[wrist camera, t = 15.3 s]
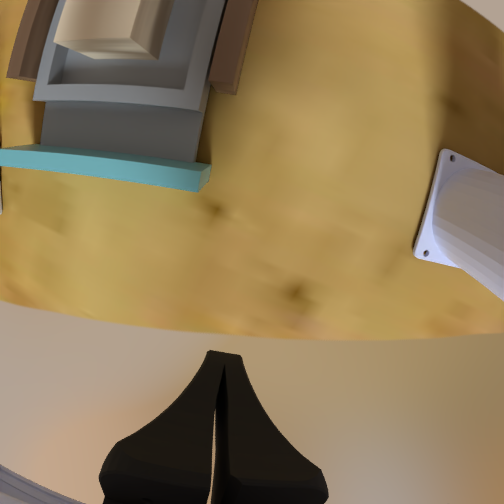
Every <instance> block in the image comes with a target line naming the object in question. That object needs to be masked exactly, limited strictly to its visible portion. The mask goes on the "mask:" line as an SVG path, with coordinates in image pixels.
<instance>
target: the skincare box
mask: <svg viewBox="0 0 504 504" xmlns="http://www.w3.org/2000/svg"><path fill="white" fill-rule="evenodd" d="M1 213H2V201H1V183H0V214H1Z"/></svg>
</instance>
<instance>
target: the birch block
mask: <svg viewBox="0 0 504 504" xmlns="http://www.w3.org/2000/svg"><path fill="white" fill-rule="evenodd" d="M174 1H175V0H66V2H65V5H64V8H63V11H62V14H61V17H60V21H59V24H58V27H57V30H56V34H55V37H54V41H53V42H54V43H57V44H59V45H62V46H64V47H67V48H69V49H72V50H74V51H76V52H79V53H81V54H83V55H86V56H88V57H90V58H93V59H139V60H159V55H160V51H161V47H162V43H163V40H164V36H165V32H166V28H167V25H168V21H169V18H170V14H171V11H172V7H173V4H174Z"/></svg>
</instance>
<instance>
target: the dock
mask: <svg viewBox="0 0 504 504" xmlns="http://www.w3.org/2000/svg"><path fill="white" fill-rule="evenodd" d="M58 2H59V0H28V2H27V5H26V8H25V11H24V14H23V17H22V20H21V23H20V26H19V29H18V33H17V36H16V39H15V43H14V47H13V51H12V54H11V58H10V63H9V67H8V71H7V76H6V78H13V79H20V80H26V81H32V82H36V81H37V76H38V71H39V67H40V62H41V58H42V54H43V50H44V47H45V43H46V39H47V36H48V32H49V29H50V26H51V23H52V19H53V16H54V13H55V10H56V7H57V5H58ZM257 4H258V0H228V3H227V6H226V10H225V14H224V17H223V21H222V25H221V29H220V33H219V37H218V41H217V45H216V49H215V53H214V57H213V61H212V65H211V70H210V74H209V79H208V81H209V82H210V83H211V85H212V86H213V88H214V89H215V91H216V92H221V93H227V94H233V95H236V93H237V88H238V84H239V79H240V75H241V70H242V66H243V61H244V57H245V53H246V48H247V44H248V40H249V36H250V32H251V28H252V24H253V20H254V16H255V12H256V8H257Z"/></svg>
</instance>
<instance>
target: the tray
mask: <svg viewBox="0 0 504 504" xmlns="http://www.w3.org/2000/svg"><path fill="white" fill-rule="evenodd" d="M65 2H66V0H59V2H58V5H57V7H56V10H55V13H54V16H53V19H52V23H51V26H50V29H49V32H48V36H47V39H46V43H45V47H44V50H43V54H42V58H41V62H40V67H39V71H38V76H37V81H36V86H35V91H34V96H33V101H44V102H46V105H45V111H44V118H43V125H42V133H41V142H40V144H31V145H22V146H15V147H8V148H1V149H0V166H8V167H18V168H28V169H37V170H46V171H55V172H63V173H71V174H79V175H87V176H95V177H102V178H109V179H116V180H123V181H130V182H136V183H143V184H149V185H156V186H162V187H168V188H174V189H180V190H186V191H192V192H199V191H200V190H201V188H202V187H203V186H204V185H205V184H206V183H207V182H208V181H209V176H210V171H211V165H210V164H204V163H198V162H196V156H197V151H198V145H199V140H200V135H201V129H202V124H203V119H204V114H205V109H206V105H207V100H208V95H209V91H210V86H211V83H210V82H209V81H208V79H209V74H210V70H211V65H212V61H213V57H214V53H215V49H216V45H217V41H218V37H219V33H220V29H221V25H222V21H223V17H224V14H225V10H226V6H227V3H228V0H175V1H174V4H173V7H172V11H171V14H170V18H169V21H168V25H167V28H166V32H165V36H164V40H163V43H162V47H161V51H160V55H159V60H139V59H93V58H90V57H88V56H86V55H83V54H81V53H79V52H76V51H74V50H72V49H69V48H67V47H64V46H62V45H59V44H57V43H54V42H53V41H54V37H55V34H56V30H57V27H58V24H59V21H60V17H61V14H62V11H63V8H64V5H65Z"/></svg>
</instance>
